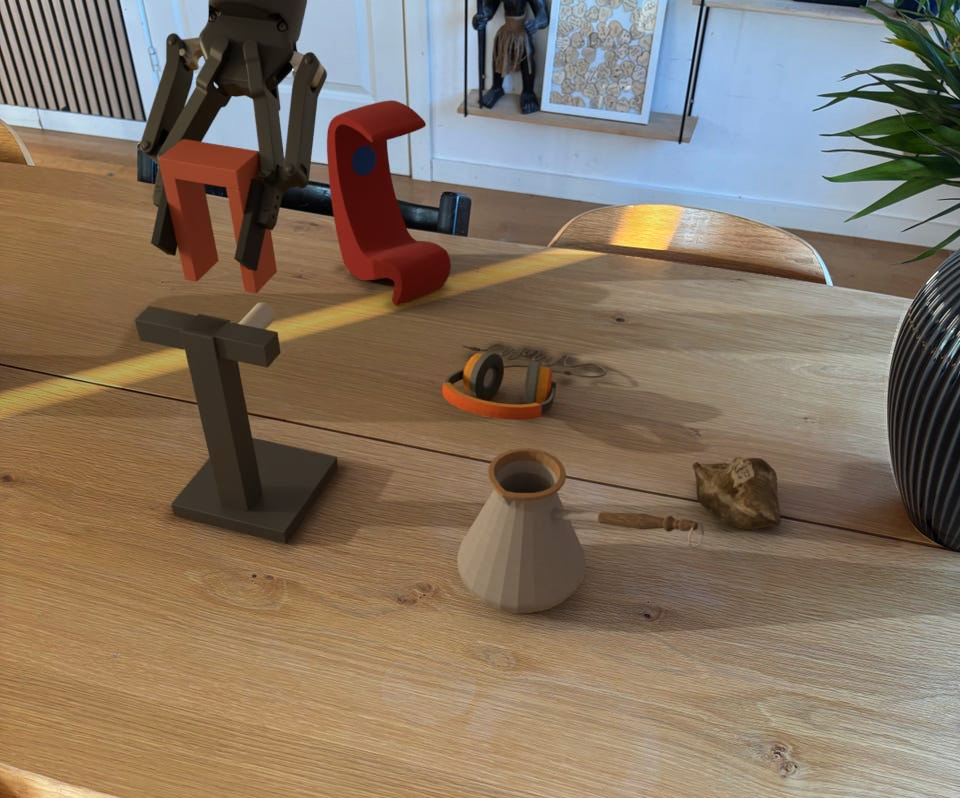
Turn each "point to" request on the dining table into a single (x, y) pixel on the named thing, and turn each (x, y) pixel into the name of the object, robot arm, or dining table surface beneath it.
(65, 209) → the dining table surface
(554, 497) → the coffee pot
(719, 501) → the fossilized seashell
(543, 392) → the headphones
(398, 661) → the dining table surface
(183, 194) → the clip
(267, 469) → the stand
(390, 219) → the chair
